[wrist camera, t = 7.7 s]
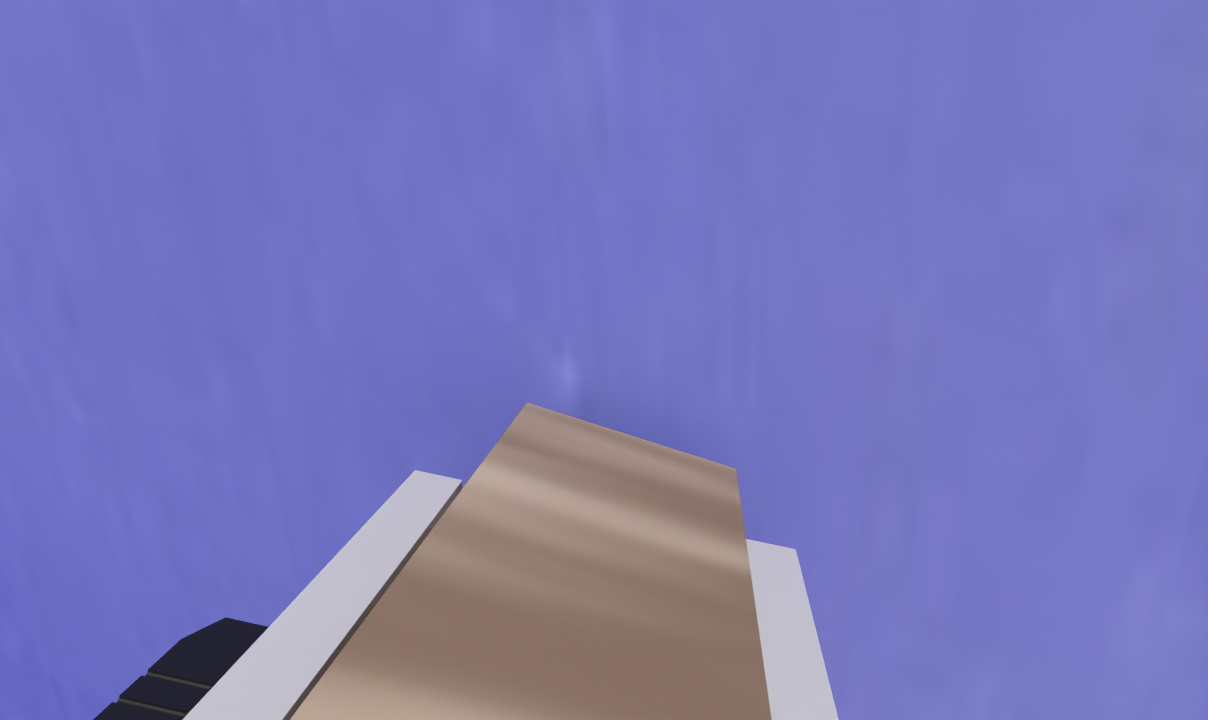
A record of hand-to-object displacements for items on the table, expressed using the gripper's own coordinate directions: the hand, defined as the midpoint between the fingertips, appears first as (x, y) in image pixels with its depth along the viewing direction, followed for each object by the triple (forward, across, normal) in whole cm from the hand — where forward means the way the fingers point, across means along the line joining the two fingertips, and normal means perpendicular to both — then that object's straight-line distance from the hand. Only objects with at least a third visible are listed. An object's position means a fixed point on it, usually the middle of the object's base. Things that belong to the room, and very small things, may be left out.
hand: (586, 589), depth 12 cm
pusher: (+3, -1, -7) cm, 8 cm away
